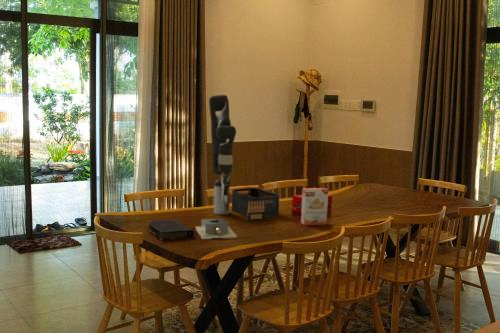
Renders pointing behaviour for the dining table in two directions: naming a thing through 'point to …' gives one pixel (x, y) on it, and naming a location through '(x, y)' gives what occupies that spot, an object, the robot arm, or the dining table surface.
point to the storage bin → (242, 200)
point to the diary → (170, 229)
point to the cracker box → (314, 206)
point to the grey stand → (215, 229)
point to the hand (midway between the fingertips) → (224, 194)
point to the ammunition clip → (256, 211)
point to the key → (224, 198)
